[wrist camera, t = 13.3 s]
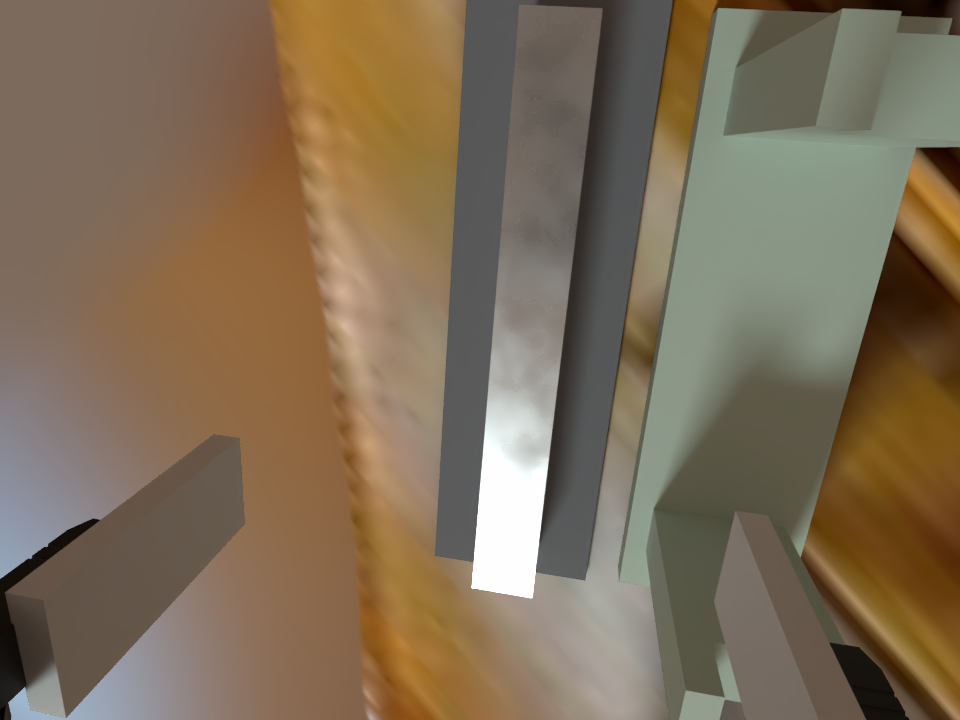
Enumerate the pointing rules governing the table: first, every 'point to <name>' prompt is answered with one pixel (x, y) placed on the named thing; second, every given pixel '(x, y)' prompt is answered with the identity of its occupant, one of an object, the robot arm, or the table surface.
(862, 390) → the table surface
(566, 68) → the steel rail
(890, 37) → the notched post rack
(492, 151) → the rubber mat
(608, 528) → the table surface
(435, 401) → the table surface
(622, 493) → the table surface
